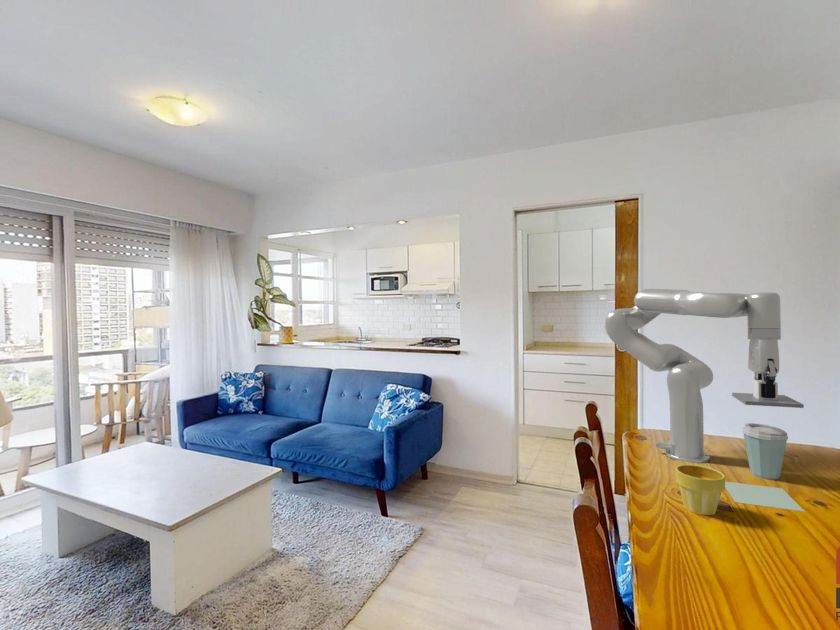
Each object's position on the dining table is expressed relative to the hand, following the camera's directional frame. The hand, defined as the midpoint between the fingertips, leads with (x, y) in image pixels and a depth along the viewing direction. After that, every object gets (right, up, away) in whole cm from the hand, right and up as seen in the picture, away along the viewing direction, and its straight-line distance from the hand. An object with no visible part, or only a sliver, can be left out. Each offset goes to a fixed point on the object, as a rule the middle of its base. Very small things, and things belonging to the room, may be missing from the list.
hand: (764, 395), depth 122 cm
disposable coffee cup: (0, -25, 0) cm, 25 cm away
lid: (0, -2, 0) cm, 2 cm away
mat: (-11, -25, -12) cm, 30 cm away
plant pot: (-32, -26, -18) cm, 45 cm away
